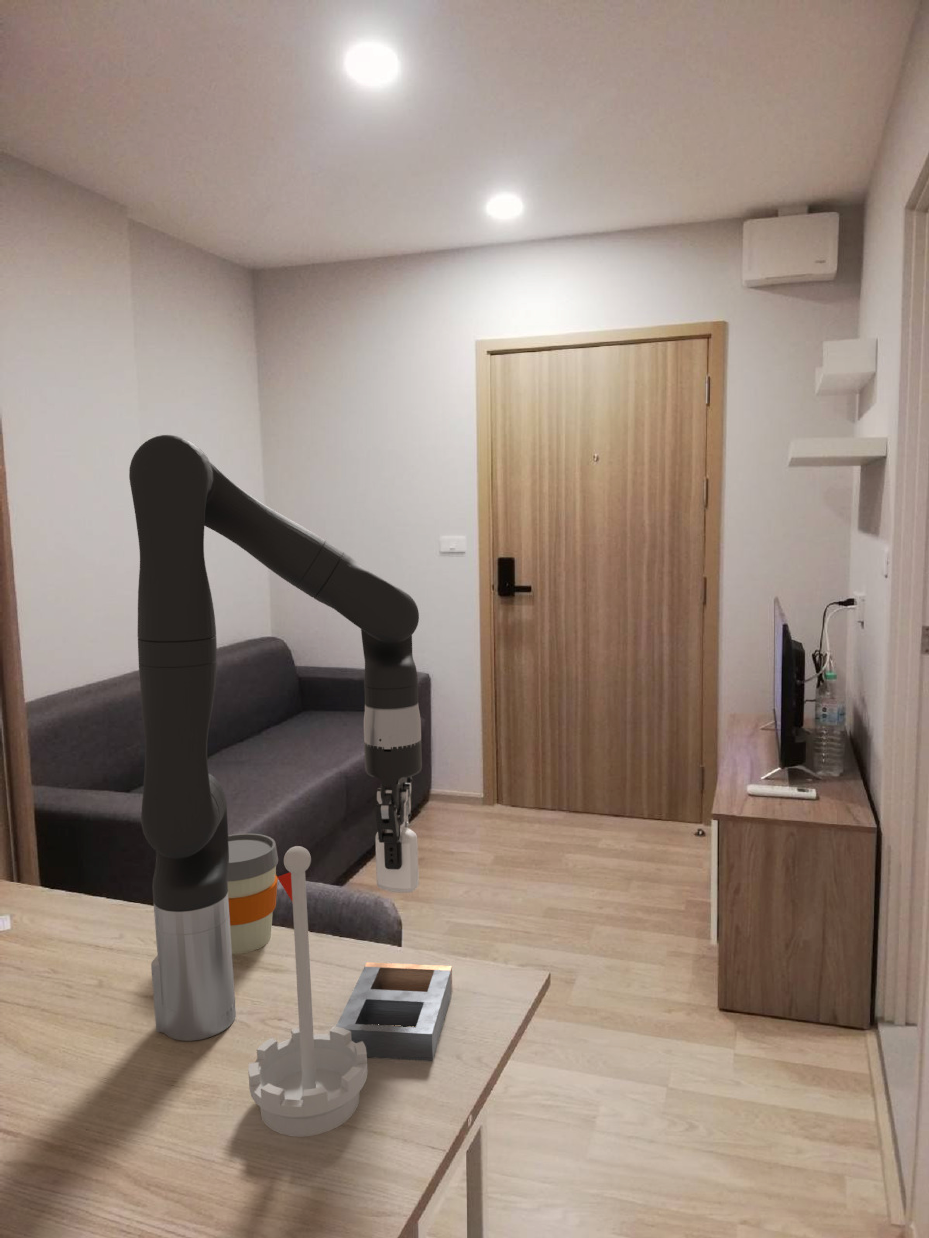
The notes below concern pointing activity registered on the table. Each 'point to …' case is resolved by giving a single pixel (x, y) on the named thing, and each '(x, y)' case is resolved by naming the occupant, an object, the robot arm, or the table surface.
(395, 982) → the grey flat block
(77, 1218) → the table surface
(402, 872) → the eye dropper bottle
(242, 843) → the reusable coffee cup
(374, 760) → the robot arm
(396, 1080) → the table surface
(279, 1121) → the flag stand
